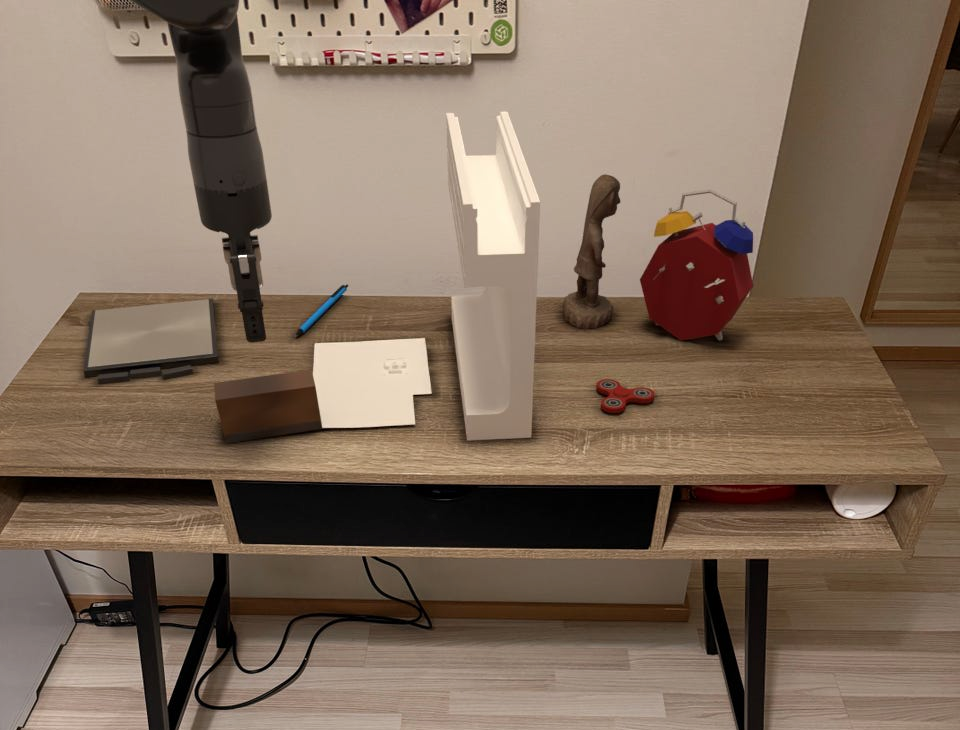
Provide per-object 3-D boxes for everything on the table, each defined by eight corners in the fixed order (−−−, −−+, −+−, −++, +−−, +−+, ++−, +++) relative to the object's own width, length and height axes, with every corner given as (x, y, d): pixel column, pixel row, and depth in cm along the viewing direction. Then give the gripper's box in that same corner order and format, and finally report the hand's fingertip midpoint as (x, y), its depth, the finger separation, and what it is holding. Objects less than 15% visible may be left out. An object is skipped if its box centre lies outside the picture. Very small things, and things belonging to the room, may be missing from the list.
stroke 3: (161, 370, 128) (162, 376, 129) (162, 374, 127) (164, 379, 128) (190, 364, 129) (191, 370, 130) (192, 368, 128) (193, 373, 129)
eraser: (226, 443, 116) (215, 400, 111) (224, 426, 119) (213, 382, 115) (322, 429, 117) (315, 385, 113) (318, 412, 121) (311, 369, 116)
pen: (350, 288, 150) (349, 281, 149) (298, 339, 136) (297, 332, 136) (345, 287, 150) (344, 280, 149) (293, 338, 137) (292, 331, 136)
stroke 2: (130, 369, 128) (131, 375, 129) (129, 373, 127) (131, 379, 128) (160, 366, 129) (161, 371, 129) (160, 370, 128) (161, 375, 129)
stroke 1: (98, 374, 127) (99, 380, 128) (97, 378, 126) (99, 384, 127) (128, 371, 128) (129, 376, 128) (127, 375, 127) (129, 381, 128)
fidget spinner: (610, 417, 120) (611, 408, 119) (576, 393, 124) (577, 385, 124) (658, 401, 123) (660, 392, 122) (624, 378, 128) (625, 369, 127)
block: (531, 437, 116) (540, 202, 97) (466, 440, 116) (463, 204, 97) (504, 316, 142) (507, 111, 123) (451, 318, 141) (446, 113, 122)
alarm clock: (743, 335, 137) (772, 191, 123) (723, 359, 132) (751, 211, 118) (650, 313, 143) (667, 173, 129) (627, 335, 137) (642, 191, 123)
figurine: (622, 323, 140) (637, 181, 127) (578, 332, 138) (588, 189, 124) (593, 300, 146) (605, 162, 133) (550, 308, 144) (557, 169, 130)
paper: (306, 344, 135) (305, 337, 134) (424, 336, 137) (424, 329, 136) (310, 434, 117) (309, 426, 116) (445, 423, 119) (445, 415, 118)
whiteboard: (85, 377, 128) (82, 369, 127) (93, 316, 142) (91, 309, 142) (218, 362, 131) (217, 354, 130) (213, 304, 145) (212, 297, 145)
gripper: (191, 158, 102) (219, 303, 113) (193, 200, 92) (224, 355, 103) (261, 153, 103) (281, 297, 114) (271, 195, 93) (292, 348, 104)
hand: (254, 324), depth 109 cm, fingers open, 8 cm apart
